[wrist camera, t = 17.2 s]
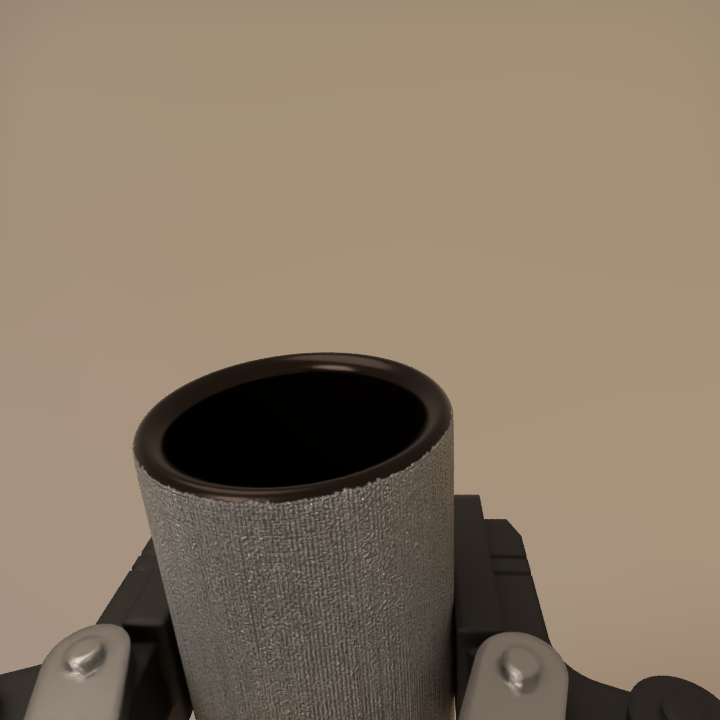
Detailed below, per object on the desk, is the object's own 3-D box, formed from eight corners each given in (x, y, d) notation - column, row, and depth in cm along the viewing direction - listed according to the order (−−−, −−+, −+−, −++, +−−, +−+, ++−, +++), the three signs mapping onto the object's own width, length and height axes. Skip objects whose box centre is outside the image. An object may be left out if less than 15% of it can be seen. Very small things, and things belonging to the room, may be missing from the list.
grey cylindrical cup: (484, 794, 13) (494, 370, 9) (395, 1065, 9) (353, 544, 5) (314, 709, 15) (266, 338, 11) (189, 902, 11) (55, 447, 8)
